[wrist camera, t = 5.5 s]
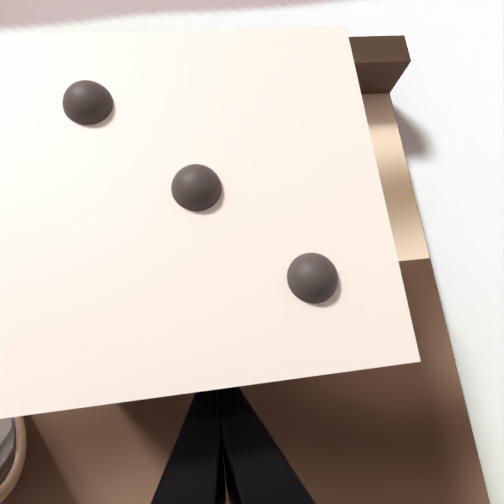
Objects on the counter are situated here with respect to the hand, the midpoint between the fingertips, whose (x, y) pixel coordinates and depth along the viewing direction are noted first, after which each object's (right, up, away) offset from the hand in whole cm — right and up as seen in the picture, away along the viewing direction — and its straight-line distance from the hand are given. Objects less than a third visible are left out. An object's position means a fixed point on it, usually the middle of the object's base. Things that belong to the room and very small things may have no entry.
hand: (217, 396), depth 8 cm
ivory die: (-1, +2, +6) cm, 7 cm away
